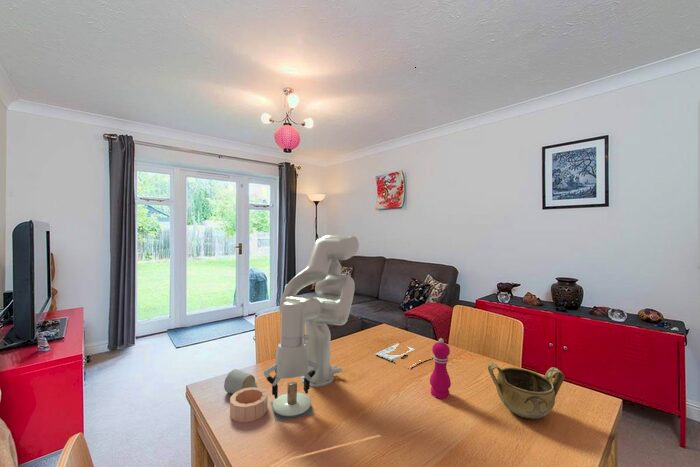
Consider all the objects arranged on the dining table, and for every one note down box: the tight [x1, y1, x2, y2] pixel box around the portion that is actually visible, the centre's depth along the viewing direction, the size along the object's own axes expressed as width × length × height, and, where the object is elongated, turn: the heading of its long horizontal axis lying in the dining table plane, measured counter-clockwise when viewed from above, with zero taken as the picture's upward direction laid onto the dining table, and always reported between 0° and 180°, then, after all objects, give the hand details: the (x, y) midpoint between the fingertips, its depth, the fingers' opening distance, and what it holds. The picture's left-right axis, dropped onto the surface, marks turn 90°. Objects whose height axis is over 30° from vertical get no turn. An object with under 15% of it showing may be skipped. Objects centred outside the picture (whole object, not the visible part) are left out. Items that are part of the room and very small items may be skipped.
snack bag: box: [374, 342, 421, 367], centre depth 141 cm, size 19×20×2 cm
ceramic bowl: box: [487, 362, 565, 420], centre depth 100 cm, size 22×17×15 cm
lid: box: [272, 381, 312, 416], centre depth 99 cm, size 12×12×8 cm
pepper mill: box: [429, 338, 452, 399], centre depth 110 cm, size 7×7×20 cm
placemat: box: [270, 401, 315, 423], centre depth 99 cm, size 12×11×1 cm
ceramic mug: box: [223, 368, 257, 395], centre depth 109 cm, size 11×8×8 cm
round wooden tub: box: [229, 386, 268, 423], centre depth 97 cm, size 11×11×5 cm
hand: (290, 394), depth 98 cm, fingers open, 9 cm apart
